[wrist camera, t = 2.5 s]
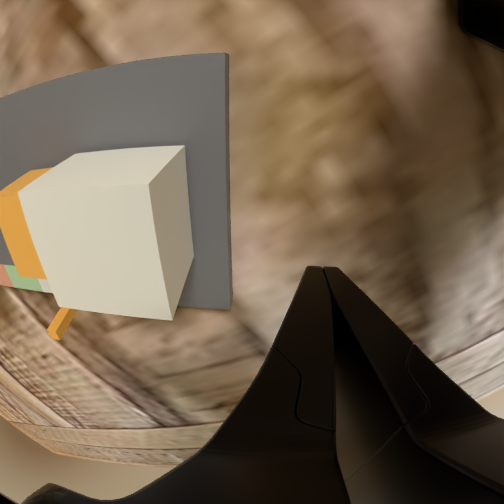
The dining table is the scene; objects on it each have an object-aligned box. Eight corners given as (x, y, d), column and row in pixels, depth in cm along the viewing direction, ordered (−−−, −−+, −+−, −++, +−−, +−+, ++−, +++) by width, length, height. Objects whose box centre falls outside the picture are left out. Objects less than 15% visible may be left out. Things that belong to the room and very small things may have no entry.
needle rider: (60, 166, 12) (12, 200, 9) (96, 296, 16) (70, 342, 13) (30, 170, 12) (-17, 203, 9) (69, 292, 16) (41, 336, 13)
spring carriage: (184, 145, 11) (148, 184, 8) (193, 255, 14) (172, 320, 10) (75, 153, 11) (17, 192, 8) (97, 251, 14) (59, 306, 11)
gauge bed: (229, 54, 10) (180, 37, 4) (232, 294, 17) (216, 413, 11) (-58, 127, 11) (-132, 171, 5) (-15, 271, 18) (-63, 333, 12)
